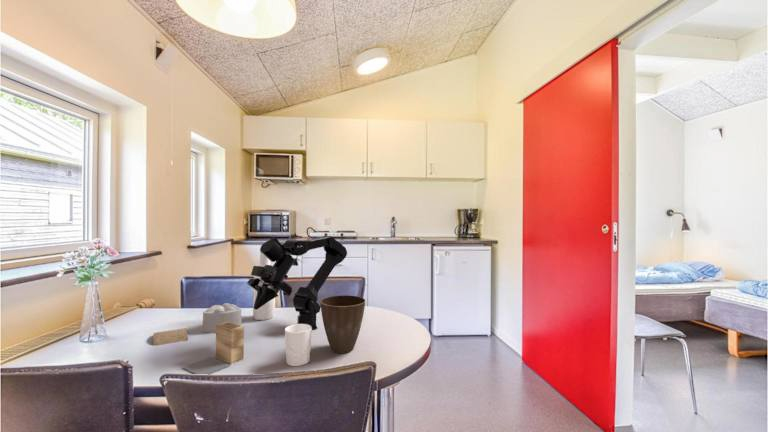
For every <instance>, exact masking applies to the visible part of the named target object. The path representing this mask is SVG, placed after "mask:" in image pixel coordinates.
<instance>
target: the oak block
mask: <svg viewBox="0 0 768 432" xmlns="http://www.w3.org/2000/svg"><path fill="white" fill-rule="evenodd" d="M244 345H245V326H244V325H242V324H241V325H238V324H234V323H231V322H226V323H222V324H219V325H216V332H215V359H217V358H218V359H217V360H219V361H222V360H223V361H222V362H224V361H225V362H224V363H227V362H228V363H227V364H229V363H230V364H229V365H232V363H233V364H235V362H236V363H239V362H240V361H243V360H244V355H245V354H244V350H245V349H244V348H245V347H244Z"/></svg>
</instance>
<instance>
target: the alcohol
mask: <svg viewBox="0 0 768 432" xmlns="http://www.w3.org/2000/svg"><path fill="white" fill-rule="evenodd" d="M259 254H260V255H259V264H258V266H261V267H264V266H265V265H271V261H270V260H269V259H268V258H267V257H266V256H265V255H264V254H263V253H262V252H261V251H259ZM253 278H259V279H260V278H261V277H258V276H255V275H254V276H253ZM260 280H261V279H260ZM261 281H263V280H261ZM263 282H264V281H263ZM256 297H257V291H256V290H255V289H253V301H252V303H253V306H252V307H253V309H252V313H253V314H252V316H253V319H254V320H257V321H268V320H272V319H273V318H274V317H275V315H276V297H275V298H273V299H272V300H270V301H269V302H267V303H266V304H264V305H263V306H261V307H260V308H259V309H257V310H256V309H254V304H255V300H256Z"/></svg>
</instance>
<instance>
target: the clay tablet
mask: <svg viewBox="0 0 768 432" xmlns="http://www.w3.org/2000/svg"><path fill="white" fill-rule="evenodd" d="M152 335H153V337H152V338H153V346H154V347H157V346H163V345H169V344H175V343H181V342H187V341H188V340H189V338H188V331H187V328H186V327H184V328H179V329H172V330H164V331H157V332H153V334H152Z"/></svg>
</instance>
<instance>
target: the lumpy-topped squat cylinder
mask: <svg viewBox="0 0 768 432" xmlns="http://www.w3.org/2000/svg"><path fill="white" fill-rule="evenodd" d="M226 322H231V323H234V324H238V325H241V326H242V308H241V307H239V306H237V305H235V304H232V303H229V302H225V303H223V304H221V305H220V304H213V305H211V307H209V308H207V309H206V310H204V311H203V312H202V332H204V333H216V325H219V324H222V323H226Z"/></svg>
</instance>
